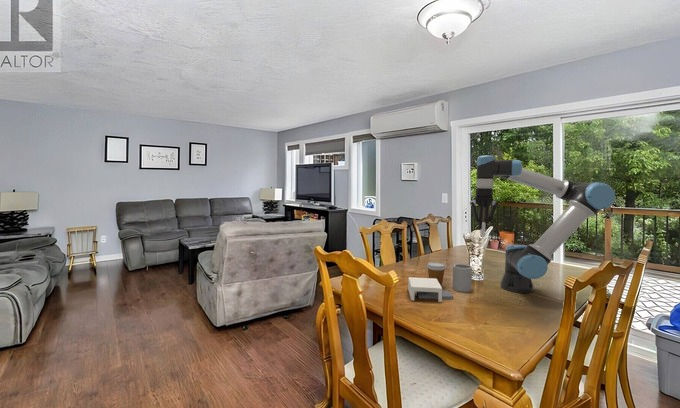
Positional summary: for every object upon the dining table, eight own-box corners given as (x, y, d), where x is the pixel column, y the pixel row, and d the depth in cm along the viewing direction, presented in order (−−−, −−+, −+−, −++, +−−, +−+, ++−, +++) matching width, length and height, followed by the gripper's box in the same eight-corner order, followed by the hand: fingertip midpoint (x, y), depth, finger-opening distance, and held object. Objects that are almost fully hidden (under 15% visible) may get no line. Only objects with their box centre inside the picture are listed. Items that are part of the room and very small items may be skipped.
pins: (415, 292, 160) (415, 284, 160) (417, 297, 153) (417, 288, 153) (411, 292, 160) (411, 283, 160) (413, 297, 153) (413, 288, 153)
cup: (469, 293, 160) (470, 269, 159) (450, 289, 165) (451, 266, 164) (472, 287, 168) (473, 265, 167) (454, 284, 173) (455, 263, 172)
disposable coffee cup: (446, 289, 164) (446, 267, 164) (426, 288, 166) (427, 266, 165) (443, 284, 174) (444, 262, 173) (425, 282, 176) (426, 261, 175)
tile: (448, 294, 159) (448, 290, 159) (453, 300, 151) (453, 296, 151) (415, 293, 160) (415, 289, 160) (419, 299, 152) (419, 295, 152)
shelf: (436, 290, 163) (436, 278, 162) (441, 302, 148) (442, 288, 147) (408, 289, 164) (408, 277, 164) (411, 300, 150) (411, 286, 149)
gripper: (495, 187, 158) (493, 234, 159) (468, 187, 159) (466, 234, 161) (501, 188, 150) (499, 237, 152) (472, 187, 152) (470, 236, 154)
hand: (482, 235), depth 157 cm, fingers closed
